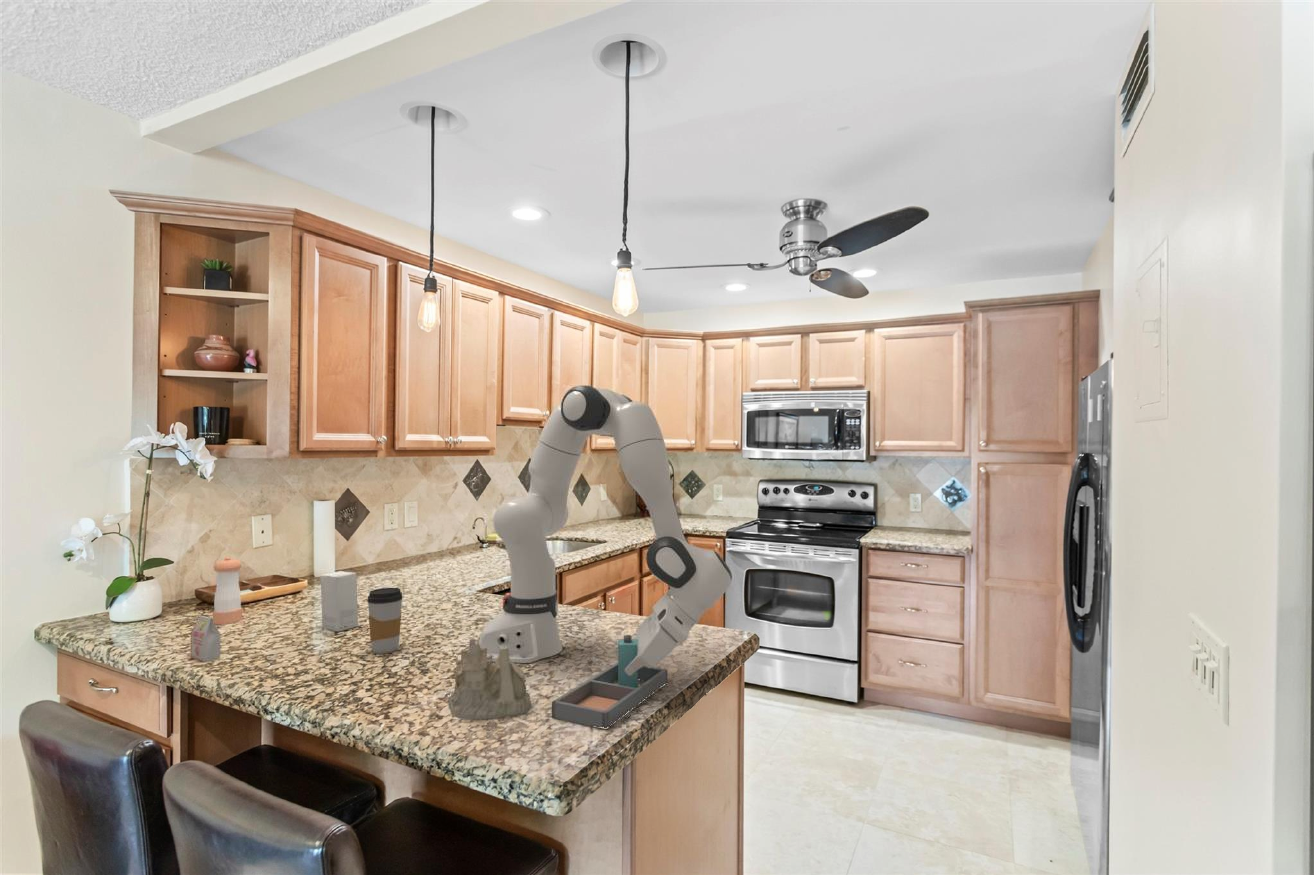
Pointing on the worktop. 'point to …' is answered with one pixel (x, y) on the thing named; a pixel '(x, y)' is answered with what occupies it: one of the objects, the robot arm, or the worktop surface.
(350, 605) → the skincare box
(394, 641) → the coffee cup
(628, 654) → the teal plug
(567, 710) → the slot frame
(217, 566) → the salt shaker
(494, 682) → the castle ruin ornament
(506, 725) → the worktop surface
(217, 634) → the gable top carton
